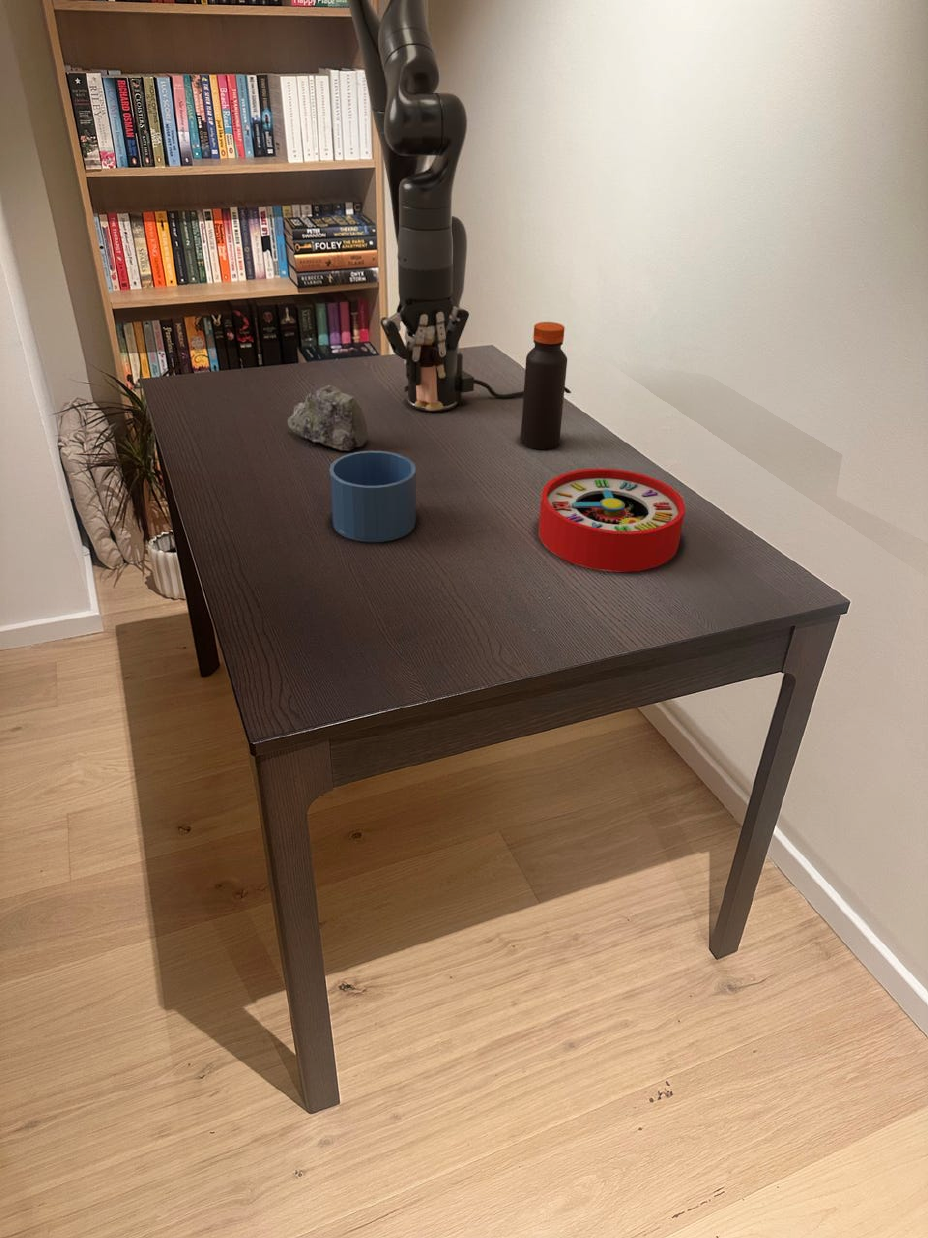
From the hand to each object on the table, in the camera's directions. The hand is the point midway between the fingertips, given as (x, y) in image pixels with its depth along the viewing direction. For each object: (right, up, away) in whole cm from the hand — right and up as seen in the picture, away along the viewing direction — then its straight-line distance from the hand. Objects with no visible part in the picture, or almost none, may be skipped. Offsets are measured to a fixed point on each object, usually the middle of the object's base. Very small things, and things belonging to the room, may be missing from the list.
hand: (425, 381), depth 135 cm
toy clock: (+26, -23, -4) cm, 35 cm away
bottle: (+19, -5, +23) cm, 30 cm away
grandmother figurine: (0, -3, +2) cm, 4 cm away
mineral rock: (-17, -5, +21) cm, 28 cm away
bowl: (-7, -21, -3) cm, 22 cm away
